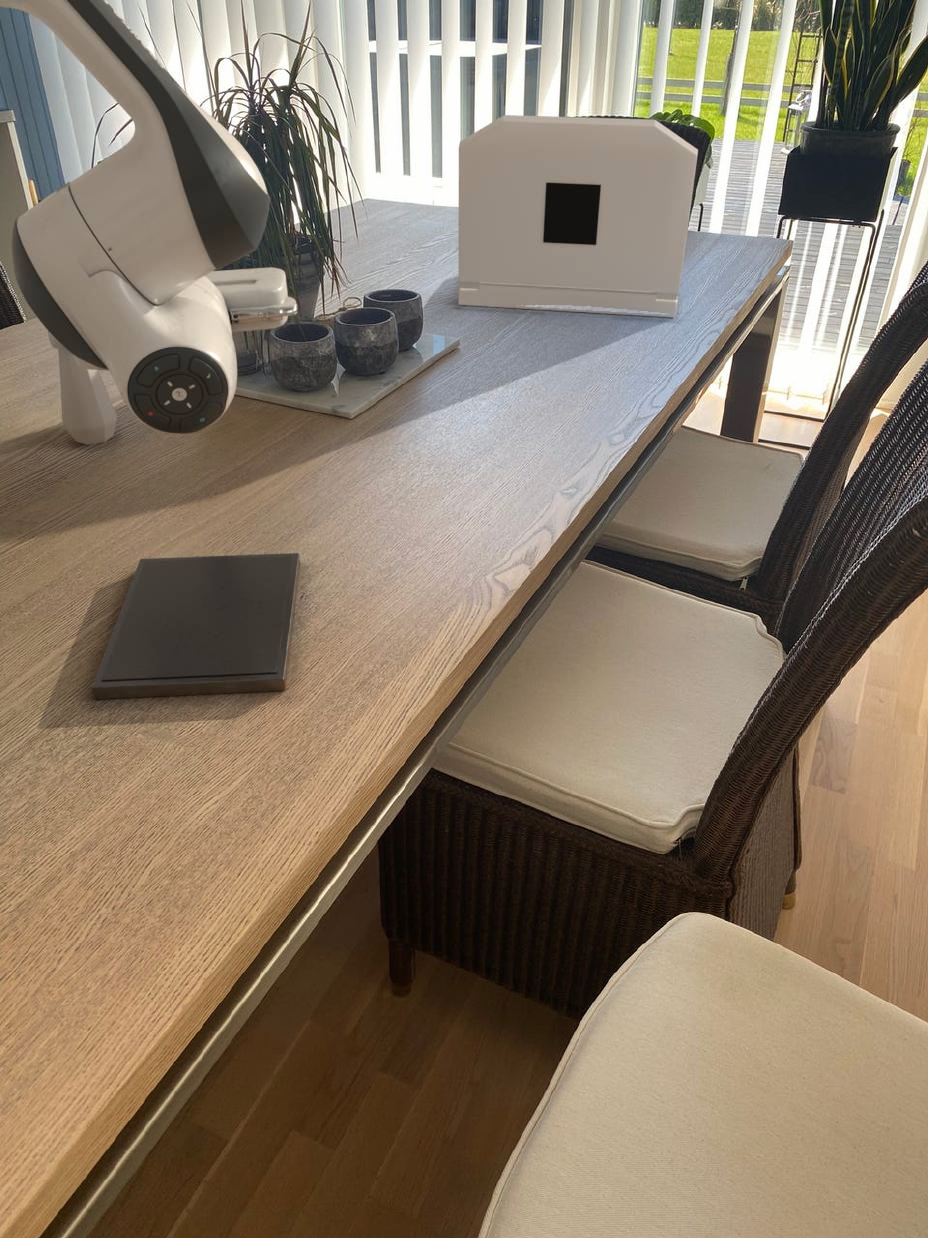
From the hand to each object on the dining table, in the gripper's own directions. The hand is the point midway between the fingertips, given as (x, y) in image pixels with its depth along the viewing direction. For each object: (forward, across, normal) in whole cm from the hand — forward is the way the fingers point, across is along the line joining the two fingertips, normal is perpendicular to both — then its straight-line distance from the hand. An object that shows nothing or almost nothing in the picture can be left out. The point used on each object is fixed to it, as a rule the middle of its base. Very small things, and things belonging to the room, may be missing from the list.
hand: (174, 278), depth 90 cm
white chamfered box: (+51, -60, +20) cm, 82 cm away
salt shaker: (+10, +12, +20) cm, 25 cm away
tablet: (-30, +1, +20) cm, 36 cm away
